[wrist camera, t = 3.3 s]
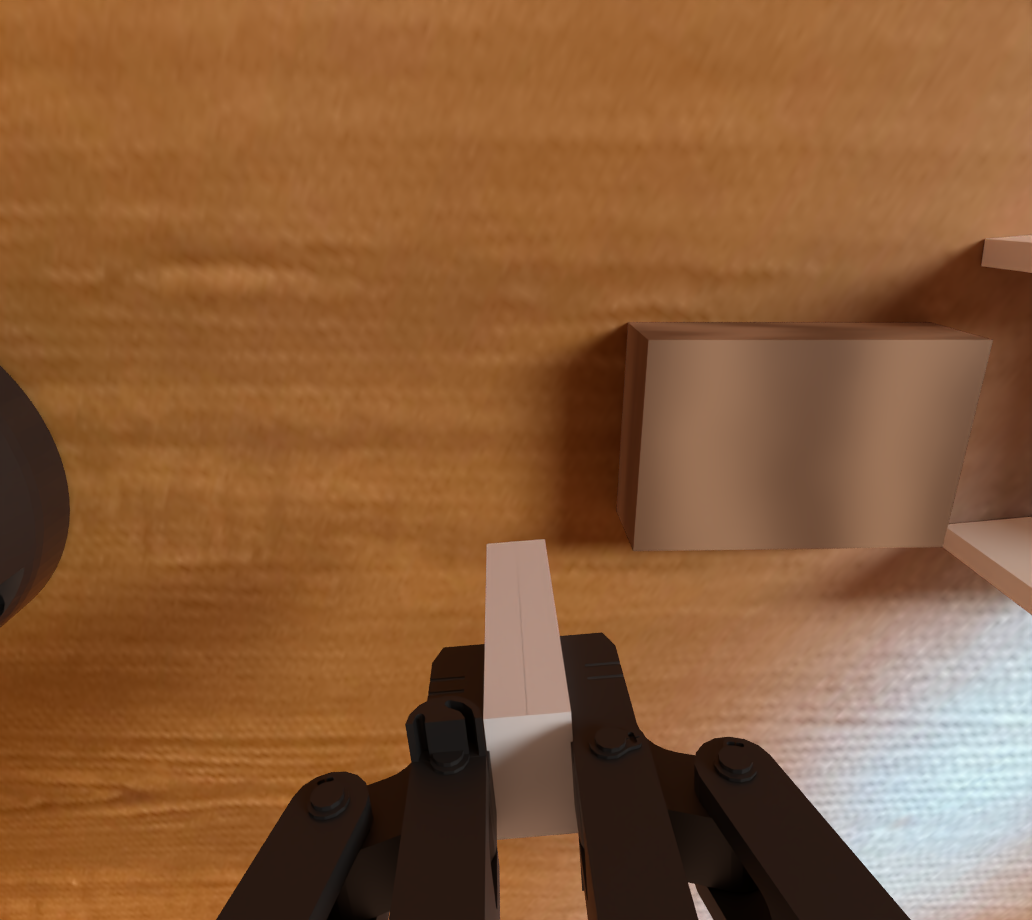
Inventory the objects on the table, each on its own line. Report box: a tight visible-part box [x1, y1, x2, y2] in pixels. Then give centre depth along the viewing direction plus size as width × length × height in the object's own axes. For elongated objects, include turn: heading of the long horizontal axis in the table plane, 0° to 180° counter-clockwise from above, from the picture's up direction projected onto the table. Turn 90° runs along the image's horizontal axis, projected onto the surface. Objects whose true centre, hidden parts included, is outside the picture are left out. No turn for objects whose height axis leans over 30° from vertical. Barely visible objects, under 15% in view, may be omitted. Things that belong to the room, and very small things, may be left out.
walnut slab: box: [616, 322, 993, 551], centre depth 27 cm, size 12×8×4 cm, turn 90°
